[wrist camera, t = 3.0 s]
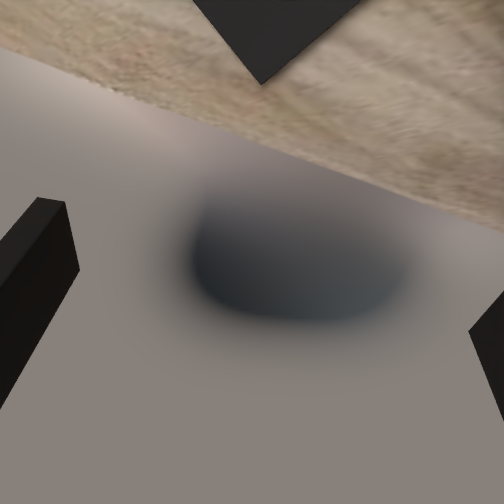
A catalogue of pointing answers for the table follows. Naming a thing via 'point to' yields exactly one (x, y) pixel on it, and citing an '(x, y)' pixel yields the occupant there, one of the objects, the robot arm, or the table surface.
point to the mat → (271, 28)
